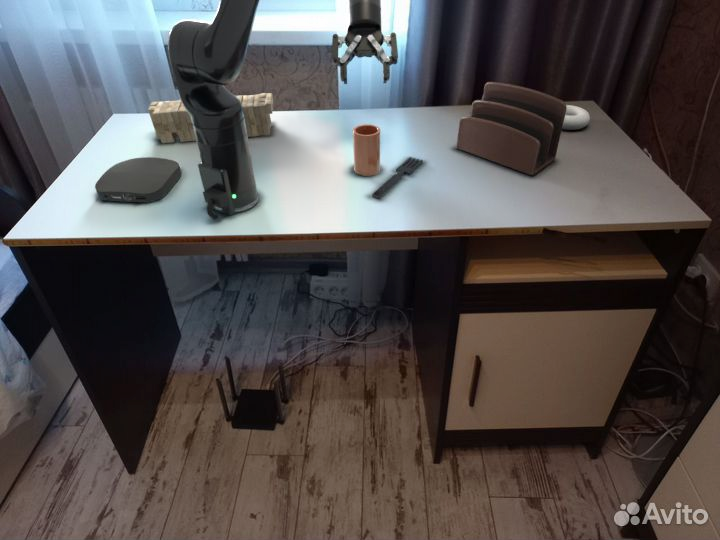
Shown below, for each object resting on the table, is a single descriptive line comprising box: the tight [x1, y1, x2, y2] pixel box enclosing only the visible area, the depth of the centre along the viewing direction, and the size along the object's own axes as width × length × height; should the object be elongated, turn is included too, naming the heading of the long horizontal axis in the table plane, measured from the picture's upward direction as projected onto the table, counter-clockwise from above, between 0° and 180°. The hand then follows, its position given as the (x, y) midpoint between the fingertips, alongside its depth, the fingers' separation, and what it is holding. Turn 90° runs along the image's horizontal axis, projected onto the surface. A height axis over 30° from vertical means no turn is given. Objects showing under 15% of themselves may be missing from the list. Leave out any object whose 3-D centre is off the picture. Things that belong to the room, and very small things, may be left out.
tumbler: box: [352, 124, 381, 177], centre depth 107 cm, size 6×6×9 cm
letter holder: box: [456, 81, 567, 177], centre depth 110 cm, size 10×20×14 cm, turn 46°
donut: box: [562, 104, 591, 131], centre depth 125 cm, size 10×4×10 cm
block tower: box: [147, 92, 274, 144], centre depth 124 cm, size 8×8×29 cm
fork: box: [371, 156, 424, 200], centre depth 107 cm, size 18×3×1 cm, turn 149°
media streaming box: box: [94, 156, 182, 203], centre depth 106 cm, size 15×15×3 cm
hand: (365, 82), depth 109 cm, fingers open, 8 cm apart
